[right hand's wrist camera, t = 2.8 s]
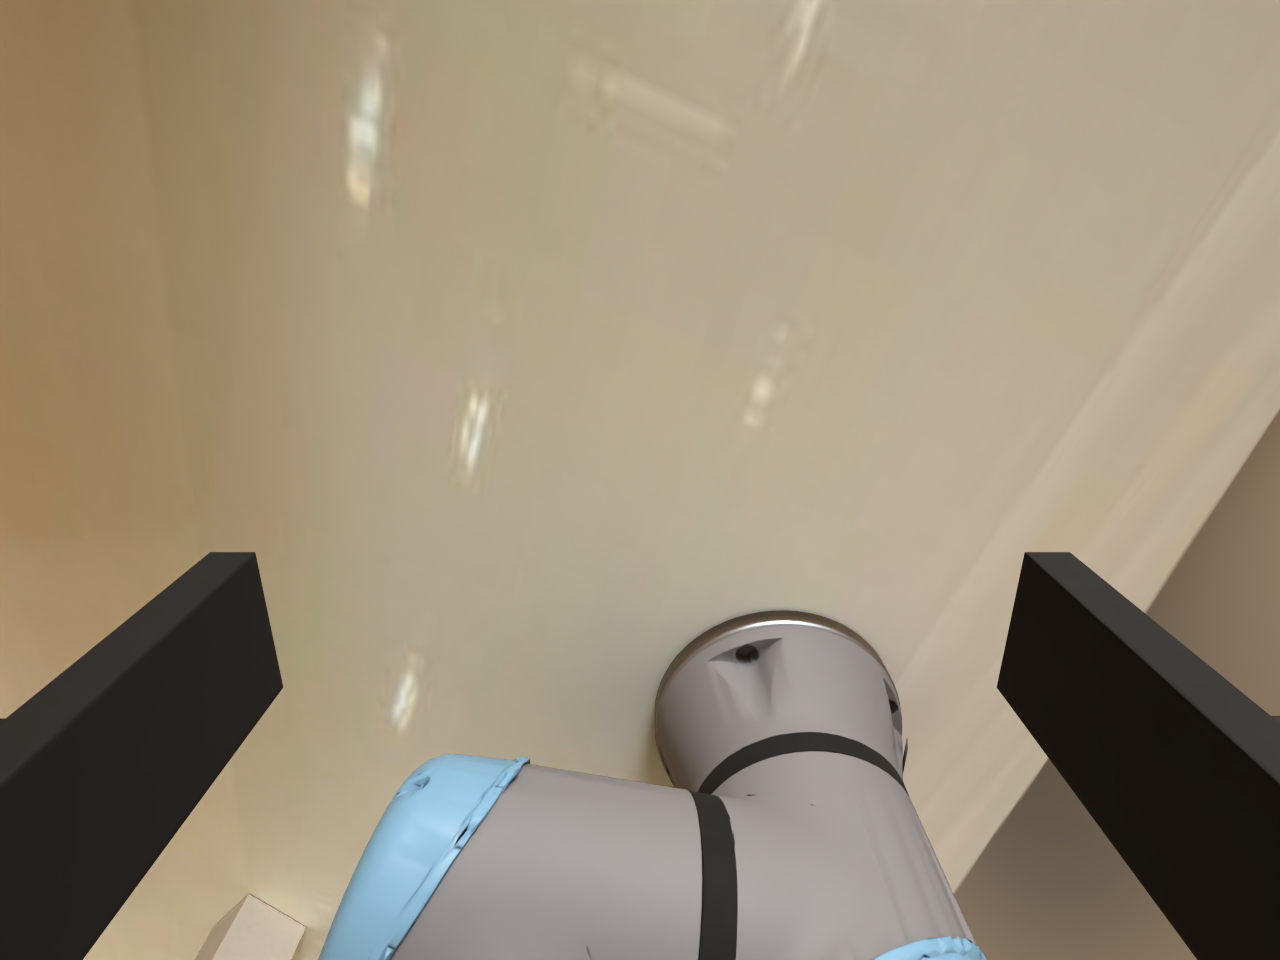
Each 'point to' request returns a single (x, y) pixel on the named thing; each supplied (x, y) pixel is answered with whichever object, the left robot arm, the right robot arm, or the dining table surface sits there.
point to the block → (252, 934)
